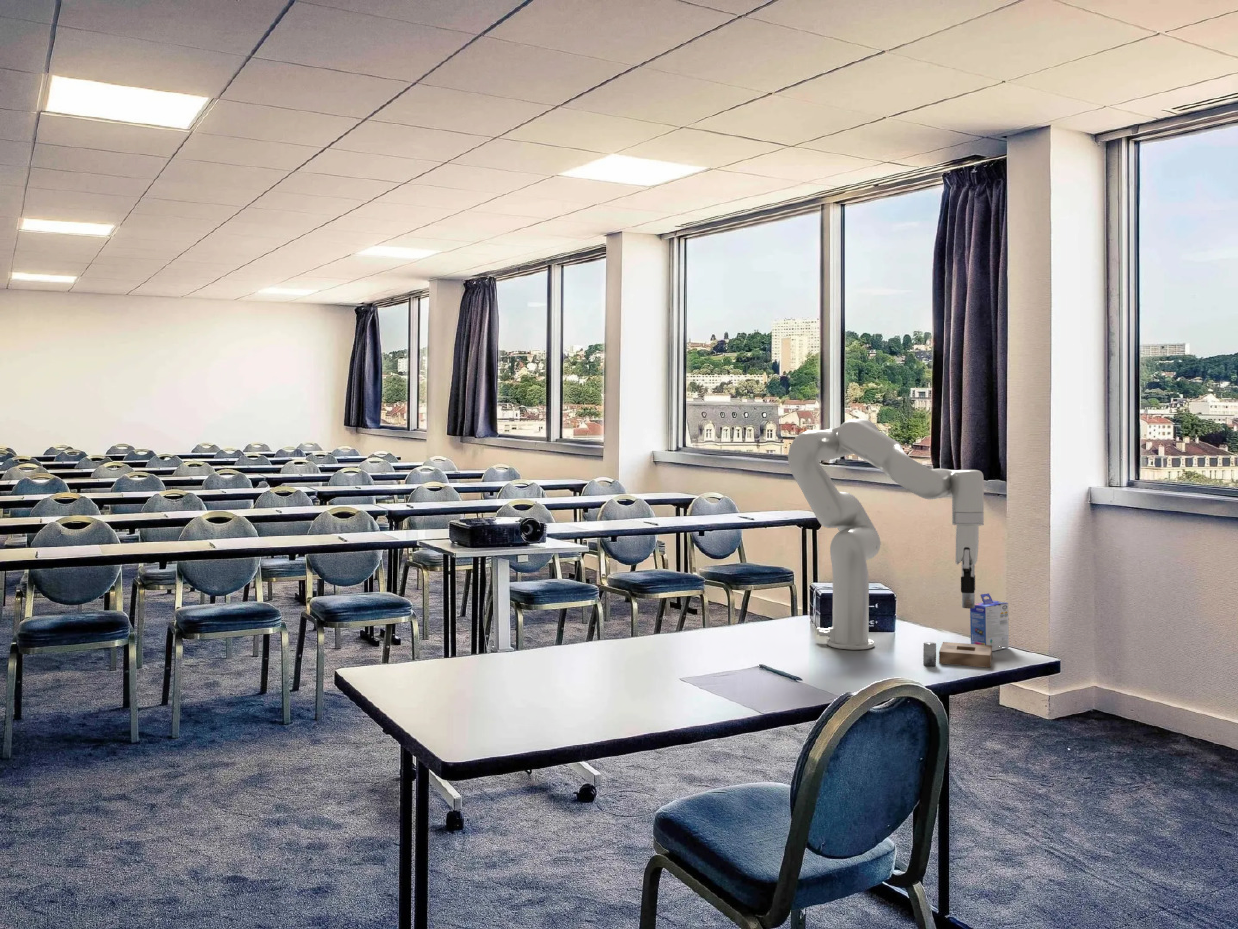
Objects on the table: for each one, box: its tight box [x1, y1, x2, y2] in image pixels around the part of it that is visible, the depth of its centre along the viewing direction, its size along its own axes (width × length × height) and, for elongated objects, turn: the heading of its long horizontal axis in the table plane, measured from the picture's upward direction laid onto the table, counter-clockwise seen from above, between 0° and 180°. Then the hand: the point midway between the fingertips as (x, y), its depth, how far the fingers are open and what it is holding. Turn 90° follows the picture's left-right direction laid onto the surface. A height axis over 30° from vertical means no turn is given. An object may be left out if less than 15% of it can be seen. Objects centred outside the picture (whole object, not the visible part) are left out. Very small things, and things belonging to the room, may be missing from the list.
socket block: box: [938, 641, 993, 668], centre depth 262 cm, size 12×12×3 cm
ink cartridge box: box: [969, 593, 1010, 652], centre depth 275 cm, size 10×6×14 cm, turn 124°
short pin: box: [922, 641, 937, 668], centre depth 256 cm, size 3×3×6 cm
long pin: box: [961, 560, 976, 610], centre depth 261 cm, size 3×3×12 cm
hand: (968, 591), depth 261 cm, fingers closed on long pin, 3 cm apart
